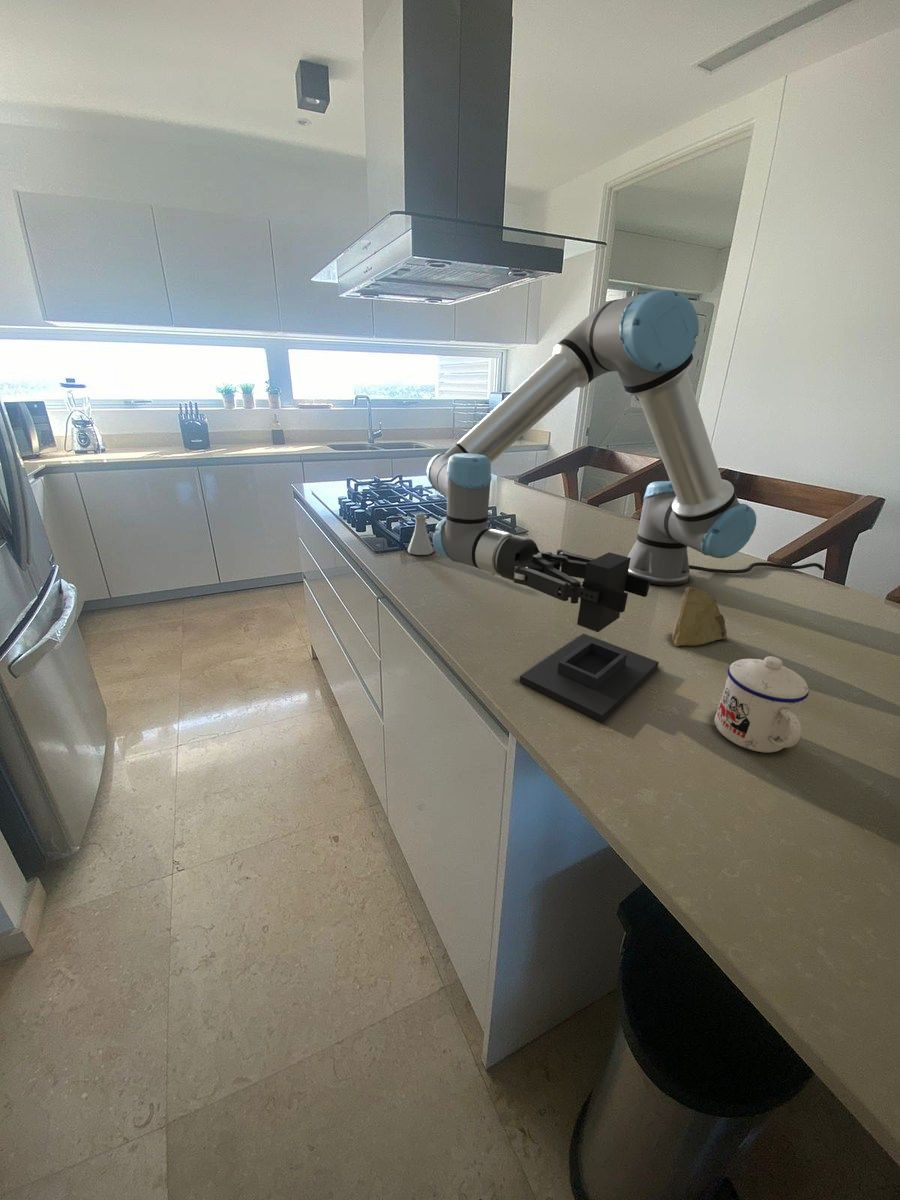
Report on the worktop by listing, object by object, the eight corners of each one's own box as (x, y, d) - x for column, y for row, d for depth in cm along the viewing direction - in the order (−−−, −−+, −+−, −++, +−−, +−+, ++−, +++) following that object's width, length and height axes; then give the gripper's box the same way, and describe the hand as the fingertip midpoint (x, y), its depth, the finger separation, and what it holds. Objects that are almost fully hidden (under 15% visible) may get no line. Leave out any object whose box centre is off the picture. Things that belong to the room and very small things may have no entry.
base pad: (582, 639, 90) (584, 623, 89) (657, 668, 81) (661, 651, 80) (519, 682, 76) (521, 664, 75) (601, 722, 68) (604, 703, 66)
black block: (598, 610, 78) (609, 552, 74) (619, 617, 76) (630, 557, 72) (576, 624, 74) (586, 562, 70) (597, 632, 72) (609, 569, 67)
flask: (435, 548, 136) (435, 513, 132) (431, 556, 129) (432, 520, 125) (409, 546, 136) (409, 511, 132) (405, 555, 130) (404, 518, 126)
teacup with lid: (700, 711, 71) (720, 641, 66) (761, 712, 71) (786, 642, 66) (746, 771, 60) (775, 693, 55) (819, 772, 60) (854, 694, 55)
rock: (726, 618, 94) (672, 604, 96) (747, 597, 87) (688, 582, 89) (720, 668, 90) (664, 652, 92) (741, 650, 82) (680, 633, 84)
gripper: (538, 563, 92) (658, 599, 78) (469, 591, 78) (599, 641, 64) (542, 524, 89) (668, 555, 75) (471, 547, 75) (609, 589, 61)
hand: (636, 595), depth 69 cm, fingers closed on black block, 7 cm apart
